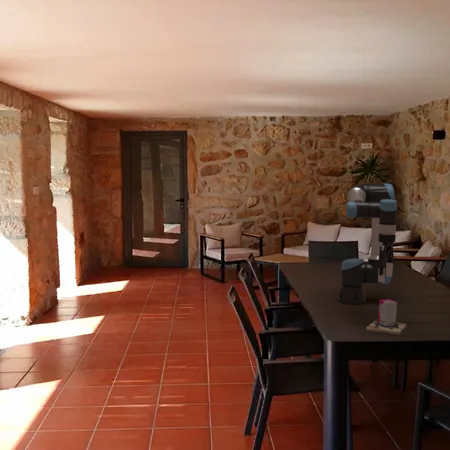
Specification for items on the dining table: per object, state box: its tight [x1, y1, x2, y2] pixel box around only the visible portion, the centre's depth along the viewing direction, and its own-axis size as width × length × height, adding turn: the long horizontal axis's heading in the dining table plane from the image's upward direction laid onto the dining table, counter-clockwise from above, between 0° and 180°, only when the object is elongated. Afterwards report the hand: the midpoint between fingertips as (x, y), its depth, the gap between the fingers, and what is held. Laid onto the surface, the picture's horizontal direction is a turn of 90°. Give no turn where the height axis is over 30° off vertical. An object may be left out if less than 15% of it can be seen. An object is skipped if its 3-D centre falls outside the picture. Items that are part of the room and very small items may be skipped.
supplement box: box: [377, 298, 398, 327], centre depth 243 cm, size 6×6×12 cm
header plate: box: [365, 318, 408, 336], centre depth 243 cm, size 16×14×4 cm
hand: (385, 279), depth 247 cm, fingers open, 13 cm apart
